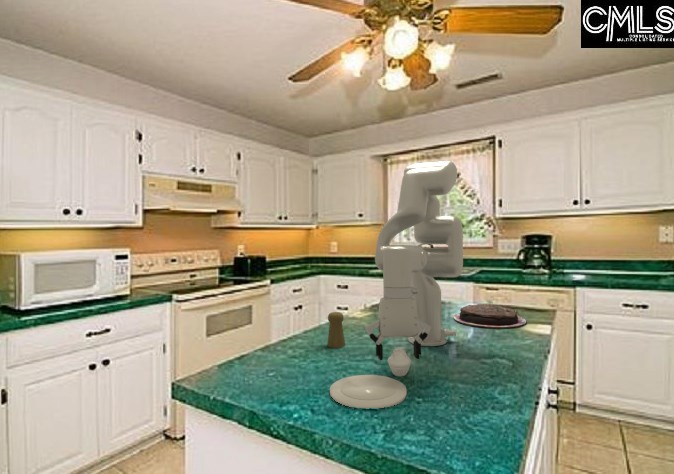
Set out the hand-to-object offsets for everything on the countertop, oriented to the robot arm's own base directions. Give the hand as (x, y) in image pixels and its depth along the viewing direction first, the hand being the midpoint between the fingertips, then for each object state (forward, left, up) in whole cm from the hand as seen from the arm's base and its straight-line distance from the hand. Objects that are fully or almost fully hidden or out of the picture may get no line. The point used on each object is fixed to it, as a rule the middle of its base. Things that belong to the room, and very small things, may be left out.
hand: (398, 358), depth 107 cm
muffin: (0, -1, -5) cm, 5 cm away
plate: (+10, +10, -5) cm, 15 cm away
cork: (+15, -30, -5) cm, 33 cm away
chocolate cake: (-49, -56, -5) cm, 75 cm away
